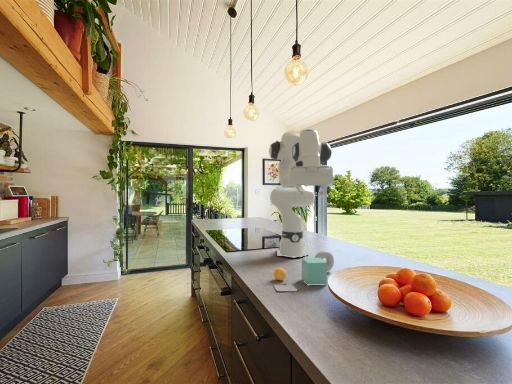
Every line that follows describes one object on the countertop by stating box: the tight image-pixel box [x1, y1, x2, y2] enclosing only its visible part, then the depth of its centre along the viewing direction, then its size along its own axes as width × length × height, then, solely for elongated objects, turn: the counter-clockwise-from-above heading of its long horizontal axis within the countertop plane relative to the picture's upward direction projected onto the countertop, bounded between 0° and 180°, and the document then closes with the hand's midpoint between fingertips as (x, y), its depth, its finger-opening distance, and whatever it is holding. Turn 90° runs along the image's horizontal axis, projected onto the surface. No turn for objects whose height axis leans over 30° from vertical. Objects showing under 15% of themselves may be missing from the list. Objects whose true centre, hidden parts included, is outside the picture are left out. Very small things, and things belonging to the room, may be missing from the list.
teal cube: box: [301, 257, 328, 285], centre depth 103 cm, size 8×8×9 cm
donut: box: [314, 249, 335, 272], centre depth 116 cm, size 10×3×10 cm, turn 111°
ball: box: [273, 267, 287, 281], centre depth 106 cm, size 5×5×5 cm
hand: (311, 195), depth 113 cm, fingers open, 8 cm apart
